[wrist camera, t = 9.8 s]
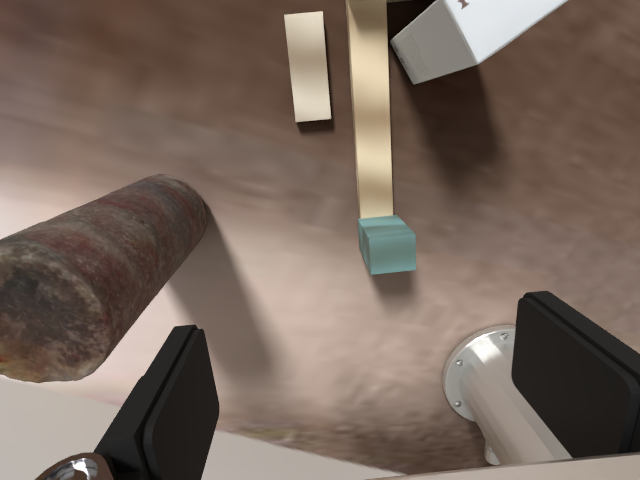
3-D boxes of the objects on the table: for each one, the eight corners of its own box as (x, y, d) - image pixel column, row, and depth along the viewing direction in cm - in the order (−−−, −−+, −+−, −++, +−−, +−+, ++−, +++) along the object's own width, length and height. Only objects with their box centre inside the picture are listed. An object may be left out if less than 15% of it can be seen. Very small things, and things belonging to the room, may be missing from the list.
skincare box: (413, 87, 32) (475, 68, 20) (387, 41, 31) (438, -6, 19) (474, 43, 31) (575, -2, 20) (451, -6, 30) (543, -84, 18)
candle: (225, 198, 34) (129, 297, 15) (194, 263, 36) (73, 425, 17) (146, 158, 33) (-72, 211, 14) (117, 228, 34) (-109, 361, 15)
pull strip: (471, 233, 36) (511, 259, 29) (357, 245, 36) (371, 274, 29) (481, -30, 29) (537, -76, 22) (340, -17, 29) (353, -59, 22)
